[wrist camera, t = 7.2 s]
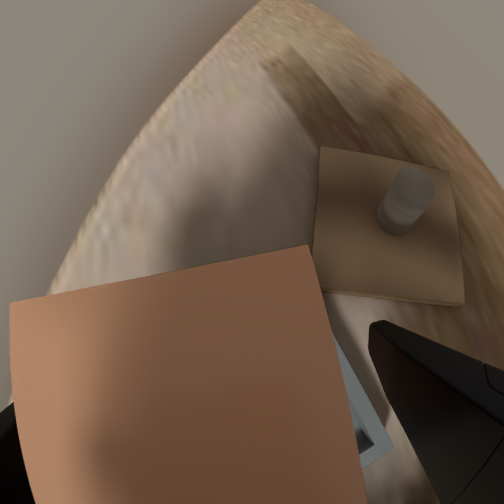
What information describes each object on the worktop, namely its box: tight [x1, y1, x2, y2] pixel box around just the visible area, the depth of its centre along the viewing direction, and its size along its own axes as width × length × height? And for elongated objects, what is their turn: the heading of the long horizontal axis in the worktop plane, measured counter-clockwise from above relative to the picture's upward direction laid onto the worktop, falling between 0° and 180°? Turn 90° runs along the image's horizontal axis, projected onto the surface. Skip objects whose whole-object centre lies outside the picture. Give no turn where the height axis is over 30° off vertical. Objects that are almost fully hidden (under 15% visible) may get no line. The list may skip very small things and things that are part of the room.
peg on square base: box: [311, 146, 465, 307], centre depth 17 cm, size 10×10×4 cm
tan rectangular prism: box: [10, 245, 368, 504], centre depth 9 cm, size 6×5×13 cm
